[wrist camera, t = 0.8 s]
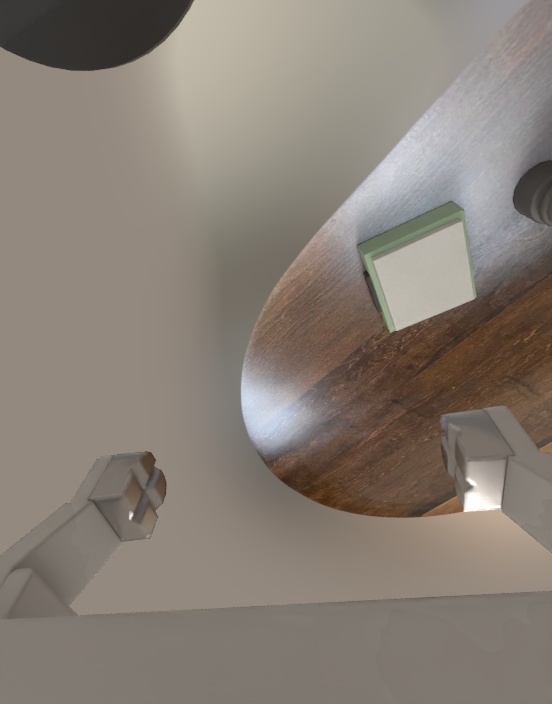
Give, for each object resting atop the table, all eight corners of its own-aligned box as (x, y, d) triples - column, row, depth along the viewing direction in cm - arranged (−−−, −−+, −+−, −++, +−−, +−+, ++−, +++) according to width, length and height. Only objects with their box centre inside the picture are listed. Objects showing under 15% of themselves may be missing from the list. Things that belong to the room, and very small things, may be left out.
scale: (353, 247, 48) (361, 260, 45) (452, 200, 45) (468, 211, 42) (380, 322, 55) (389, 338, 52) (465, 286, 53) (480, 301, 50)
